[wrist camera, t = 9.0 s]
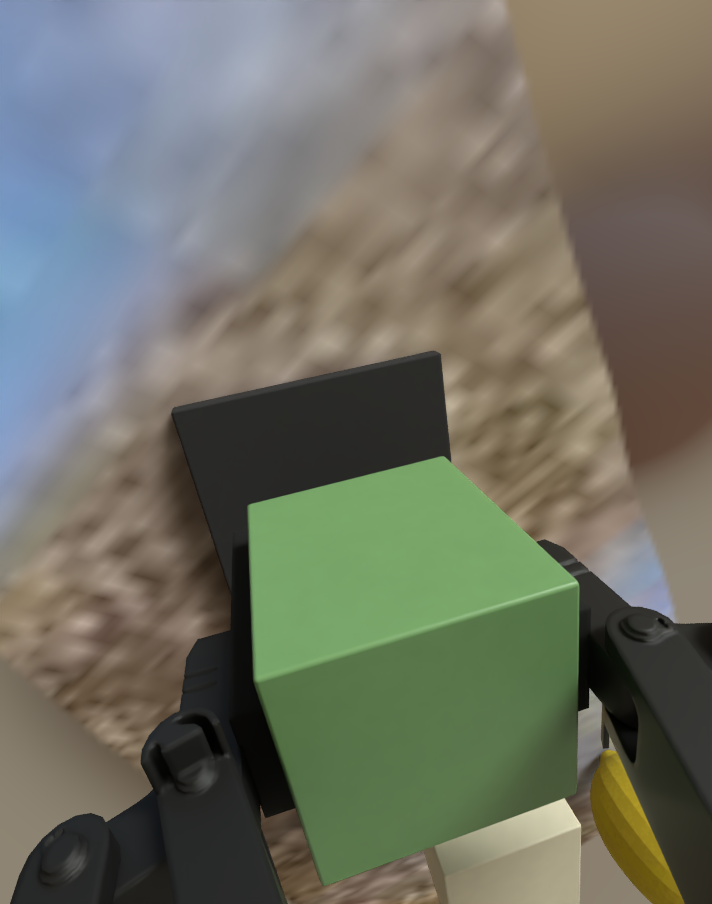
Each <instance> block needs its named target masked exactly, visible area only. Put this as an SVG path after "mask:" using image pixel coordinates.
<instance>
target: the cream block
mask: <svg viewBox="0 0 712 904" xmlns="http://www.w3.org/2000/svg"><path fill="white" fill-rule="evenodd" d="M423 851H424V854H425V858H426V861H427V864H428V867H429V870H430V873H431V876H432V880H433V883H434V886H435V889H436V892H437V895H438V898H439V902H440V904H579V903H580V854H581V824H580V823H579V821H578V819H577V818H576V816H575V815H574V813H573V811H572V810H571V808H570V806H569V805H568V803H567V802H566V800H565V798H564V799H561V800H559V801H556V802H553V803H550V804H548V805H545V806H542V807H540V808H537V809H534V810H531V811H529V812H526V813H523V814H520V815H518V816H515V817H512V818H510V819H507V820H504V821H501V822H499V823H496V824H493V825H490V826H488V827H485V828H482V829H480V830H477V831H474V832H471V833H469V834H466V835H463V836H460V837H458V838H455V839H452V840H450V841H447V842H444V843H441V844H439V845H436V846H433V847H431V848H428V849H425V850H423Z"/></svg>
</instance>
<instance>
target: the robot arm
mask: <svg viewBox="0 0 712 904" xmlns="http://www.w3.org/2000/svg"><path fill="white" fill-rule="evenodd" d="M536 543H537V544H538V545H540V546H541V547H542V548H543V549H544V550H545V551H546V552H547V553H548V554H549V555H550V556H551V557H552V558H553V559H555V560H556V561H557V562H558V563H559V564H560V565H561V566H562V567H563V568H564V569H565V570H566V571H567V572H568V573H570V574H571V575H572V576H573V577H574V578H575V579H576V580H577V581H578V583H579V662H578V711H581V710H584V709H587V708H589V688H590V689H591V690H592V691H593V693H594V694H595V695H596V696H597V697H598V699H599V700H600V701H601V702H602V725H601V741H602V746H603V749H604V748H609V735H610V738H611V740H612V742H613V744H614V747H615V749H616V751H617V753H618V755H619V758H620V760H621V762H622V764H623V767H624V769H625V771H626V773H627V776H628V778H629V780H630V782H631V785H632V787H633V789H634V791H635V793H636V796H637V798H638V800H639V802H640V805H641V807H642V809H643V811H644V814H645V816H646V818H647V820H648V823H649V825H650V827H651V829H652V832H653V834H654V836H655V838H656V840H657V843H658V845H659V847H660V849H661V852H662V854H663V856H664V858H665V861H666V863H667V865H668V867H669V870H670V872H671V874H672V876H673V878H674V881H675V883H676V885H677V887H678V890H679V892H680V894H681V896H682V899H683V901H684V903H685V904H712V623H695V624H675V623H673V622H672V621H671V620H670V619H669V618H668V617H666V616H664V615H662V614H661V613H659V612H657V611H654V610H651V609H647V608H643V607H631V606H630V605H629V604H628V603H627V602H625V601H624V600H623V599H622V598H621V597H620V596H619V595H617V594H616V593H615V592H614V591H613V590H612V589H611V588H609V587H608V586H607V585H606V584H605V583H604V582H602V581H601V580H600V579H599V578H598V577H597V576H596V575H594V574H593V573H592V572H591V571H590V572H589V571H588V568H586V567H585V566H584V565H583V564H582V563H581V562H578V561H577V559H576V558H575V557H574V556H573V555H572V554H570V553H569V552H568V551H567V550H566V549H565V548H563V547H561V546H559V545H557V544H554V543H552V542H550V541H547V540H541V541H538V542H536ZM184 677H185V679H184V682H183V689H182V692H183V695H182V697H181V704H180V711H179V712H177V713H174V714H173V715H171V716H170V717H168V718H167V719H165V720H164V721H163V722H161V723H160V724H159V725H158V726H157V727H156V728H155V730H154V731H153V732H152V733H151V734H150V735H149V737H148V739H147V741H146V743H145V745H144V747H143V749H142V755H141V765H142V767H143V769H144V771H145V773H146V775H147V777H148V779H149V781H150V783H151V785H152V787H153V790H152V791H151V792H150V793H149V794H148V795H147V796H145V797H144V798H143V799H141V800H140V801H139V802H137V803H136V804H134V805H133V806H131V807H130V808H128V809H127V810H125V811H123V812H122V813H120V814H119V815H117V816H116V817H114V818H112V819H111V820H109V821H108V822H105V821H104V819H103V817H101V816H98V815H95V814H92V813H89V814H83V815H77V816H74V817H72V818H71V819H69V820H67V821H65V822H63V823H61V824H59V825H58V826H57V827H55V828H54V829H53V830H52V831H51V832H50V833H49V834H47V835H46V836H45V837H44V838H43V839H42V840H41V841H40V842H39V844H38V845H37V846H36V847H35V849H34V850H33V851H32V852H31V854H30V855H29V856H28V858H27V861H26V863H25V865H24V867H23V869H22V871H21V873H20V875H19V878H18V881H17V884H16V887H15V890H14V893H13V896H12V900H11V902H10V904H288V903H287V901H286V898H285V895H284V892H283V889H282V886H281V883H280V880H279V877H278V874H277V872H276V869H275V866H274V863H273V860H272V857H271V854H270V851H269V848H268V846H267V843H266V840H265V837H264V835H263V832H262V830H261V813H260V805H261V808H262V810H263V813H264V816H265V818H267V817H270V816H273V815H276V814H279V813H282V812H285V811H288V810H291V809H294V808H296V807H295V804H294V801H293V799H292V796H291V793H290V790H289V787H288V784H287V781H286V778H285V775H284V772H283V769H282V766H281V763H280V760H279V757H278V754H277V751H276V748H275V745H274V742H273V739H272V736H271V733H270V730H269V727H268V724H267V721H266V718H265V715H264V712H263V709H262V706H261V703H260V700H259V697H258V694H257V691H256V688H255V685H254V682H253V662H252V633H251V604H250V576H249V547H248V529H244V530H240V531H237V532H233V539H232V584H231V630H229V631H226V632H222V633H219V634H215V635H212V636H208V637H205V638H201V639H198V640H197V641H196V643H195V645H194V646H193V648H192V650H191V651H190V653H189V655H188V656H187V659H186V667H185V674H184Z"/></svg>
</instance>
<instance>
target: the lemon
mask: <svg viewBox="0 0 712 904" xmlns="http://www.w3.org/2000/svg"><path fill="white" fill-rule="evenodd" d="M590 800H591V807H592V812H593V817H594V820H595V823H596V826H597V829H598V831H599V834H600V836H601V838H602V840H603V842H604V844H605V846H606V847H607V849H608V851H609V852H610V854H611V856H612V857H613V859H614V860H615V861H616V863H617V864H618V866H619V867H620V868H621V869H622V870H623V872H624V873H625V875H626V876H627V877H628V878H629V879H630V881H631V882H632V883H633V884H634V885H635V886H636V888H637V889H638V890H639V891H640V892H641V893H642V894H643V895H644V896H645V897H646V898H647V899H648V900H649V901H650V902H651V903H653V904H685V903H684V901H683V899H682V896H681V894H680V892H679V890H678V887H677V885H676V883H675V881H674V878H673V876H672V874H671V872H670V870H669V867H668V865H667V863H666V861H665V858H664V856H663V854H662V852H661V849H660V847H659V845H658V843H657V840H656V838H655V836H654V834H653V832H652V829H651V827H650V825H649V823H648V820H647V818H646V816H645V814H644V811H643V809H642V807H641V805H640V802H639V800H638V798H637V796H636V793H635V791H634V789H633V787H632V785H631V782H630V780H629V778H628V776H627V773H626V771H625V769H624V767H623V764H622V762H621V760H620V758H619V755H618V753H617V752H616V751H611V750H606V751H604V752H603V753H602V754H601V757H600V766H599V767H598V768H597V770H596V772H595V774H594V777H593V779H592V784H591V791H590Z"/></svg>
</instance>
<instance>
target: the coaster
mask: <svg viewBox="0 0 712 904" xmlns="http://www.w3.org/2000/svg"><path fill="white" fill-rule="evenodd" d="M171 414H172V417H173V420H174V423H175V426H176V429H177V433H178V436H179V439H180V442H181V445H182V448H183V451H184V454H185V457H186V460H187V463H188V466H189V469H190V472H191V475H192V478H193V481H194V484H195V487H196V490H197V493H198V496H199V499H200V502H201V505H202V508H203V511H204V515H205V518H206V521H207V524H208V527H209V530H210V533H211V536H212V539H213V542H214V545H215V548H216V551H217V554H218V557H219V560H220V563H221V566H222V569H223V572H224V575H225V578H226V581H227V584H228V587H229V590H230V593H231V584H232V539H233V532H237V531H240V530H244V529H248V518H247V506H248V505H250V504H253V503H257V502H261V501H265V500H269V499H273V498H277V497H281V496H285V495H289V494H293V493H297V492H301V491H305V490H309V489H313V488H317V487H321V486H325V485H329V484H333V483H337V482H341V481H345V480H349V479H353V478H357V477H361V476H365V475H369V474H373V473H377V472H381V471H385V470H389V469H393V468H397V467H401V466H405V465H409V464H413V463H417V462H421V461H425V460H429V459H433V458H437V457H441V456H444V457H445V458H446V459H448V460H449V461H450V462H451V454H450V444H449V434H448V424H447V414H446V403H445V393H444V383H443V373H442V363H441V354H440V353H438V352H436V351H430V352H425V353H421V354H416V355H412V356H407V357H403V358H398V359H393V360H389V361H384V362H380V363H375V364H371V365H366V366H361V367H357V368H352V369H348V370H343V371H339V372H334V373H329V374H325V375H320V376H316V377H311V378H307V379H302V380H297V381H293V382H288V383H284V384H279V385H274V386H270V387H265V388H261V389H256V390H252V391H247V392H242V393H238V394H233V395H229V396H224V397H220V398H215V399H210V400H206V401H201V402H197V403H192V404H188V405H183V406H178V407H174V408H173V410H172V413H171Z"/></svg>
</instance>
